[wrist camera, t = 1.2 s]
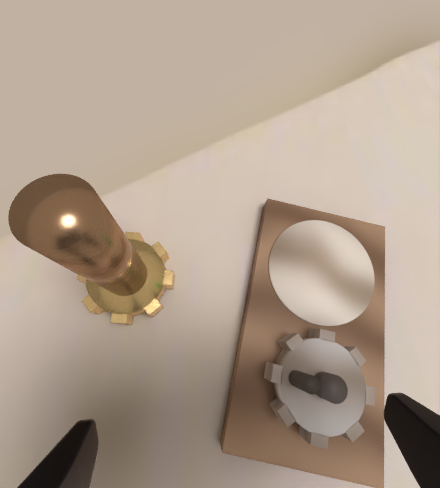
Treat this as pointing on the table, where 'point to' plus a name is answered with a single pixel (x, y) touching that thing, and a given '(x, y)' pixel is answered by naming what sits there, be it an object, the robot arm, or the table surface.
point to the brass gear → (91, 246)
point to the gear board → (261, 345)
